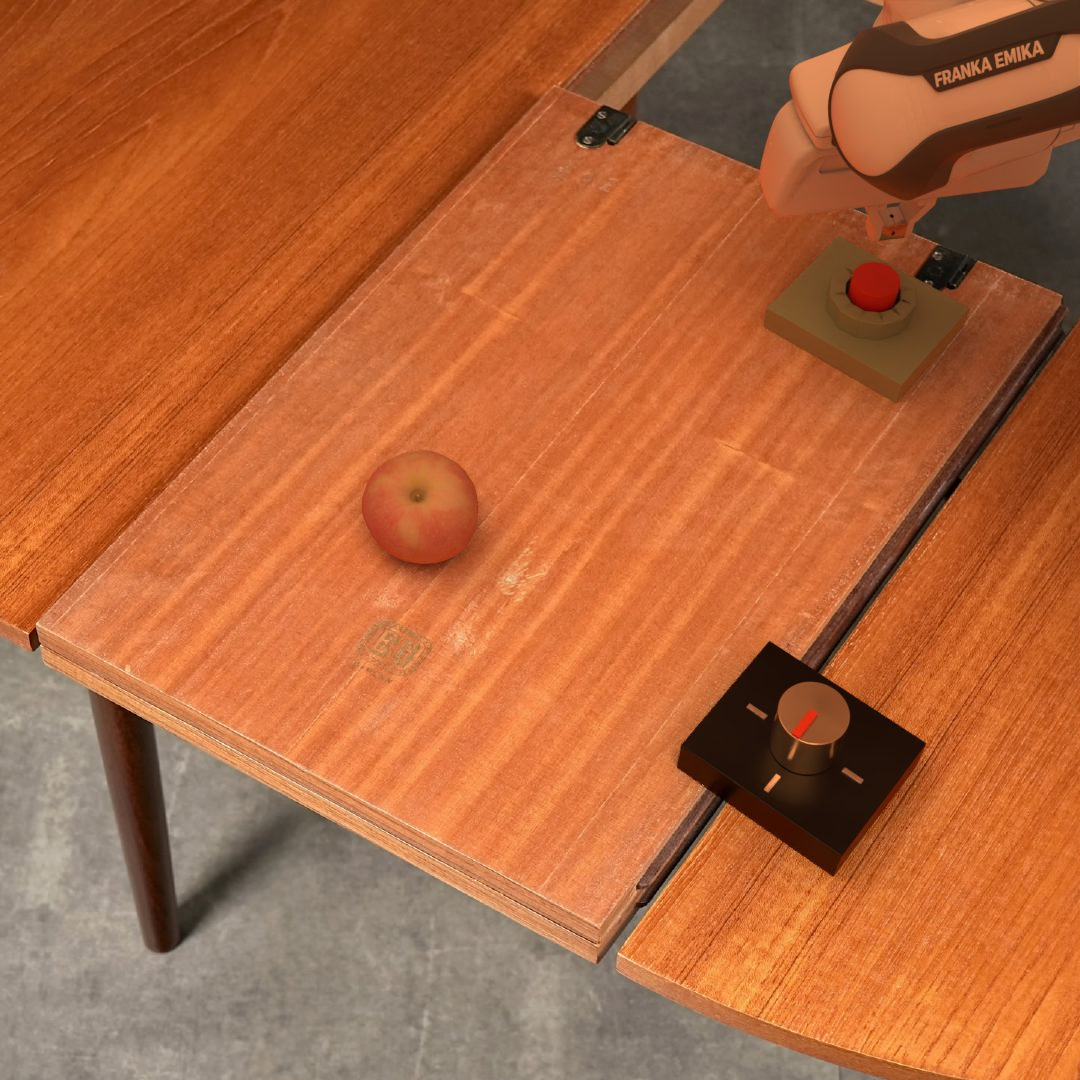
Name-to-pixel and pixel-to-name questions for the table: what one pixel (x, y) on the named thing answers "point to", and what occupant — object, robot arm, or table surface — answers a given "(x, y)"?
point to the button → (874, 286)
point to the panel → (782, 795)
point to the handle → (809, 728)
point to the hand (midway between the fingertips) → (887, 233)
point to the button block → (865, 322)
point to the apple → (421, 507)
